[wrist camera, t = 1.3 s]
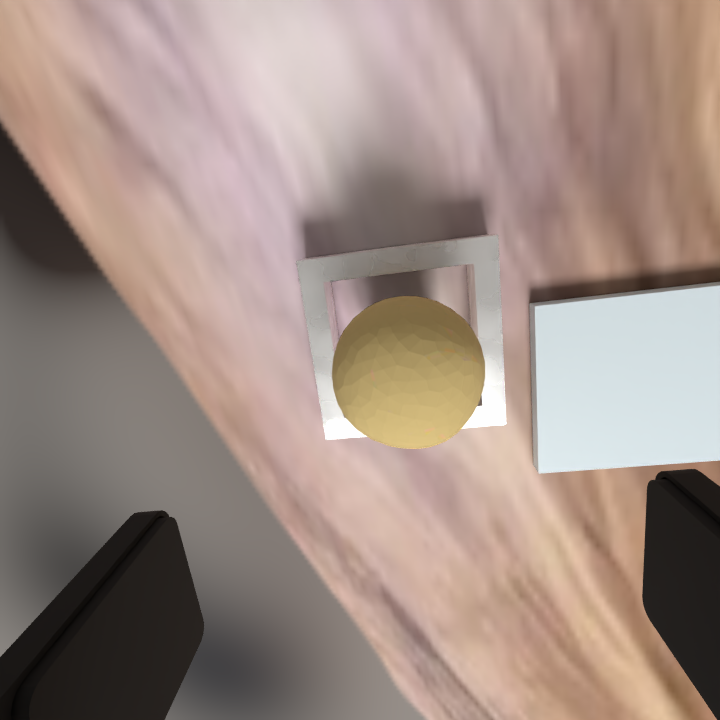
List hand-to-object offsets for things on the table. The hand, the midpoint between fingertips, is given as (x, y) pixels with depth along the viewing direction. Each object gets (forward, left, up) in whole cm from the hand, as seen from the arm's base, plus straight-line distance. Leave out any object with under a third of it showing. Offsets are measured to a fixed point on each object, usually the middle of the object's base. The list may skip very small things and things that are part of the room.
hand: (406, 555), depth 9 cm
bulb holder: (0, 0, -18) cm, 18 cm away
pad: (-12, +4, -18) cm, 22 cm away
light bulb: (0, 0, -18) cm, 18 cm away
